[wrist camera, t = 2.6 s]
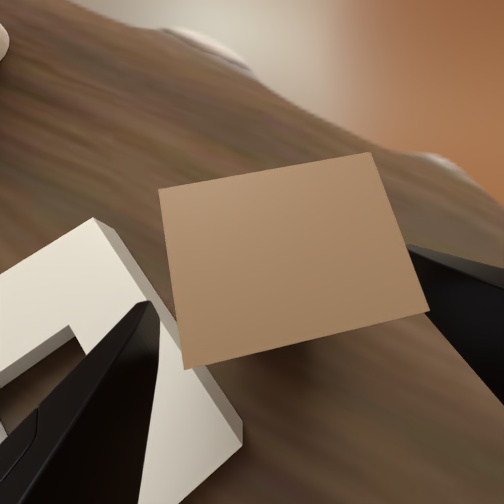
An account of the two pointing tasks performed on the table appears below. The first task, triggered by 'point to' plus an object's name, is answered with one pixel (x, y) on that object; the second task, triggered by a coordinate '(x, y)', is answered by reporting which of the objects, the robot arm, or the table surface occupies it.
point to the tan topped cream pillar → (284, 258)
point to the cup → (3, 41)
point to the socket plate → (94, 329)
